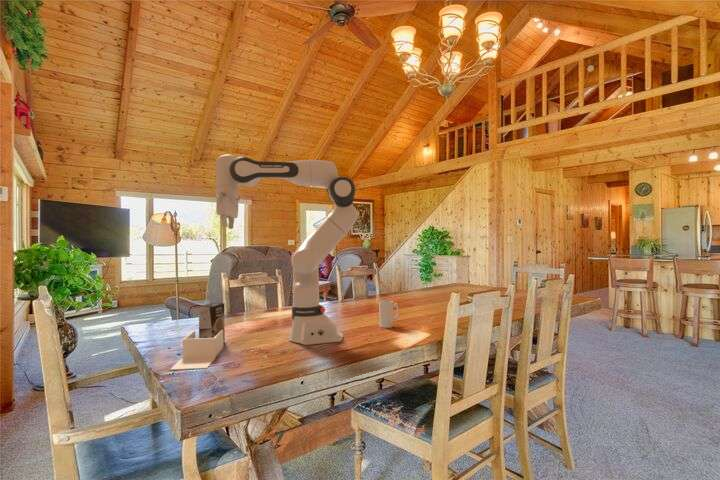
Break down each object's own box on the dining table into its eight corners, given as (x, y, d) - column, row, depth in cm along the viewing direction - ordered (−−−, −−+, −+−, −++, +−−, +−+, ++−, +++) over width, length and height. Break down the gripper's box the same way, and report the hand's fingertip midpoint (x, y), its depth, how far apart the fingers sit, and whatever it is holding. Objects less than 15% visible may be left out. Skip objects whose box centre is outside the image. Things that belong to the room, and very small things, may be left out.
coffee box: (213, 347, 155) (212, 306, 154) (198, 346, 156) (197, 306, 156) (225, 341, 164) (224, 302, 163) (211, 340, 165) (211, 302, 165)
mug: (381, 328, 183) (381, 302, 182) (377, 325, 189) (377, 300, 189) (401, 327, 185) (401, 301, 185) (396, 324, 192) (396, 299, 192)
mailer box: (224, 347, 155) (223, 329, 155) (207, 368, 130) (206, 347, 130) (193, 348, 153) (192, 330, 153) (169, 370, 129) (169, 349, 129)
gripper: (228, 190, 152) (229, 226, 151) (240, 197, 172) (241, 228, 172) (211, 190, 151) (212, 226, 151) (225, 197, 172) (226, 229, 171)
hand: (228, 227), depth 162 cm, fingers open, 8 cm apart
